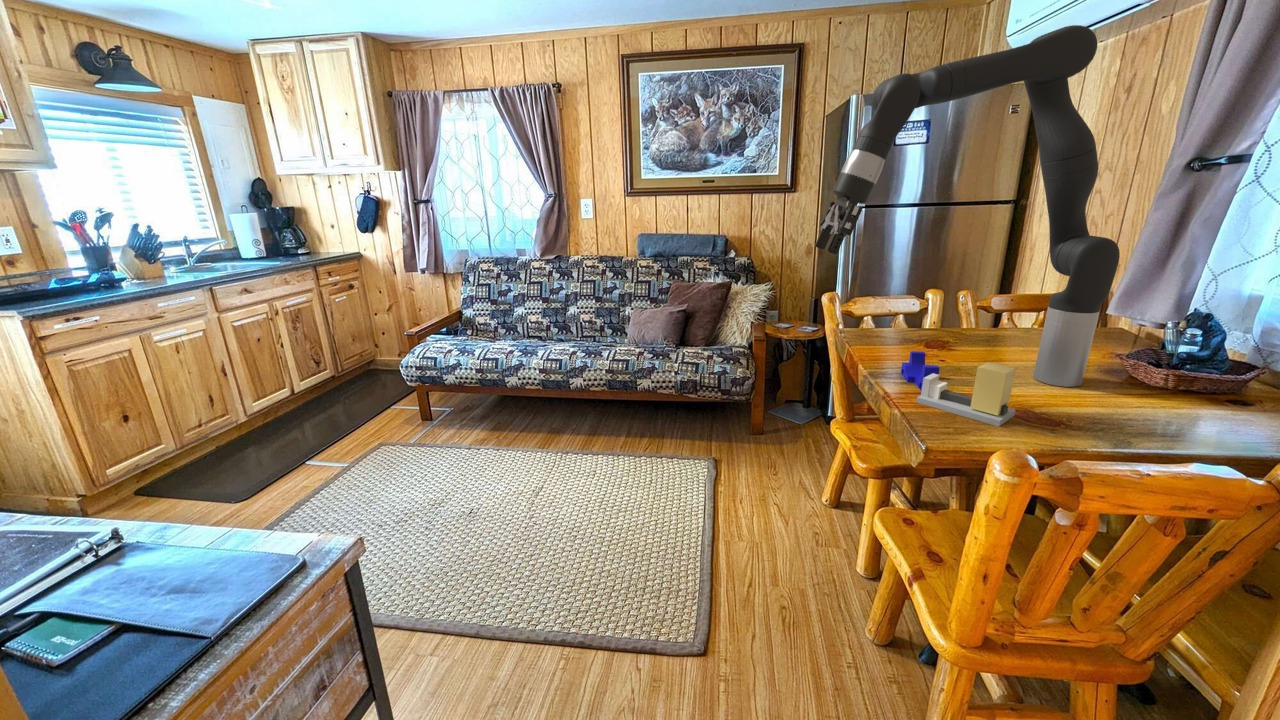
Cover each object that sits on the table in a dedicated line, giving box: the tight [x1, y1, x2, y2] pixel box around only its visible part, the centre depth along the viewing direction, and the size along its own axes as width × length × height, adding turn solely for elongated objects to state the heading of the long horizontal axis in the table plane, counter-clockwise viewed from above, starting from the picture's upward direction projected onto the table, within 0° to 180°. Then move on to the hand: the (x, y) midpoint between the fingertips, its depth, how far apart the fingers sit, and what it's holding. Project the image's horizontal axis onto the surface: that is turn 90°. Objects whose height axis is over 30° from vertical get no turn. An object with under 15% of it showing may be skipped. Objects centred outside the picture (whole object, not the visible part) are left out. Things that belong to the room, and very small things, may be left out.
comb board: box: [915, 373, 1016, 427], centre depth 113 cm, size 8×16×5 cm, turn 38°
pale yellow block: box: [970, 361, 1017, 416], centre depth 108 cm, size 5×5×9 cm
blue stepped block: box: [900, 350, 941, 392], centre depth 128 cm, size 12×4×6 cm, turn 169°
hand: (824, 250), depth 119 cm, fingers open, 8 cm apart
